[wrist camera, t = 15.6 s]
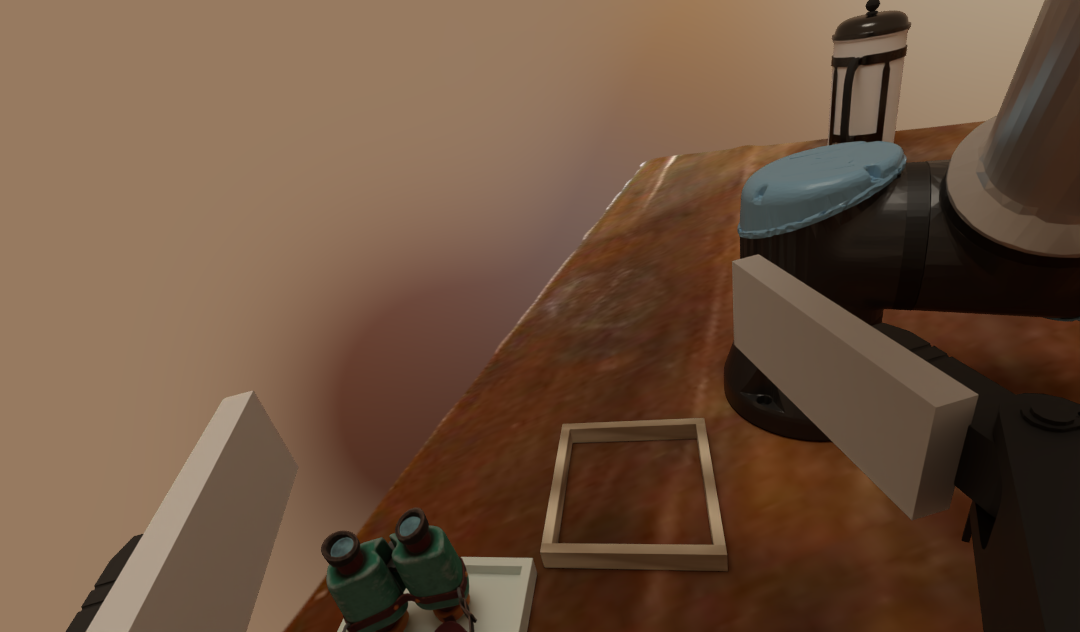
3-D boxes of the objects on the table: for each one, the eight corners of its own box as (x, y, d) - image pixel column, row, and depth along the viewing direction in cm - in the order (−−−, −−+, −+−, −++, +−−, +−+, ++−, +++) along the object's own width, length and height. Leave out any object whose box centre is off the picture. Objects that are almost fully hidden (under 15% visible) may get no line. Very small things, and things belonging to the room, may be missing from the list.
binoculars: (279, 690, 26) (307, 520, 34) (356, 764, 32) (364, 603, 40) (456, 631, 27) (441, 479, 35) (500, 713, 33) (478, 566, 41)
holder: (565, 437, 53) (562, 424, 53) (704, 432, 50) (703, 418, 49) (544, 567, 41) (540, 552, 40) (727, 571, 38) (727, 554, 37)
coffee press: (802, 159, 120) (809, 9, 106) (876, 145, 118) (893, -9, 104) (838, 177, 104) (851, 6, 90) (923, 162, 102) (950, -15, 88)
